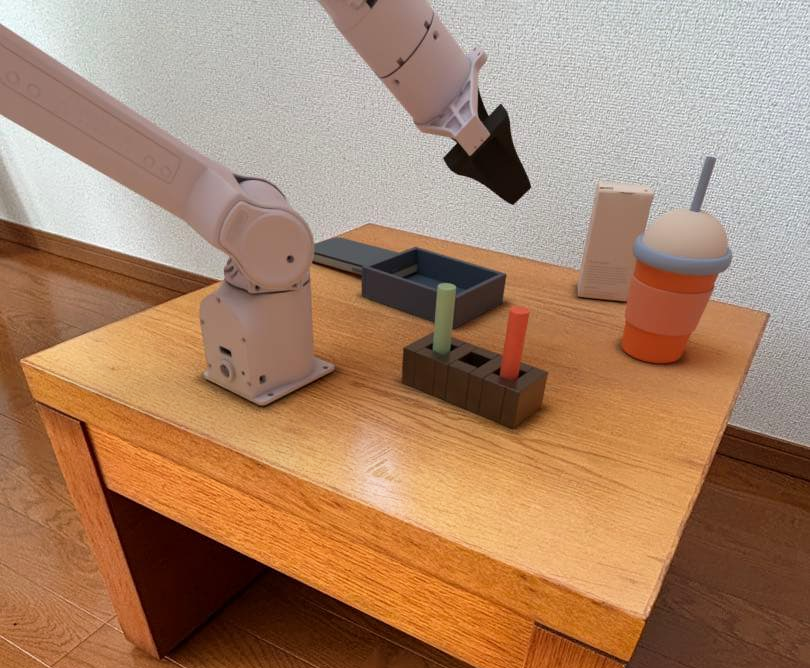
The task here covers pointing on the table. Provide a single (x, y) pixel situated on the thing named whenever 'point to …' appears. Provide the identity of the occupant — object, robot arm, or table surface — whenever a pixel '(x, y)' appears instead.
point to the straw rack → (474, 380)
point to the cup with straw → (674, 278)
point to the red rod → (514, 342)
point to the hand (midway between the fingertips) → (507, 175)
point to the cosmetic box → (613, 239)
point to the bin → (433, 284)
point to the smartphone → (354, 256)
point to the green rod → (444, 318)
